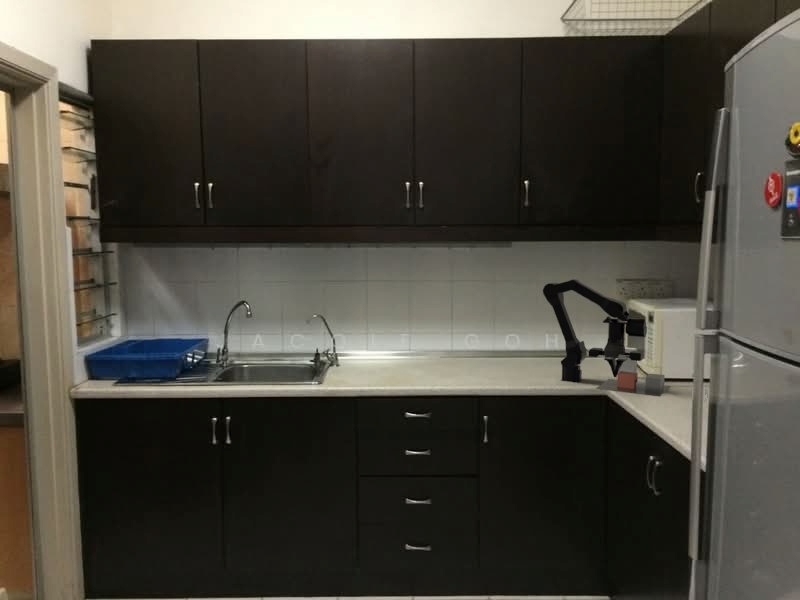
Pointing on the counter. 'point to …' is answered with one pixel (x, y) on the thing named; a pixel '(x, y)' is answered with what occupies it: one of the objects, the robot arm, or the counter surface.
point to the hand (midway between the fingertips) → (615, 377)
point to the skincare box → (629, 362)
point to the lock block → (627, 379)
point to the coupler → (639, 386)
